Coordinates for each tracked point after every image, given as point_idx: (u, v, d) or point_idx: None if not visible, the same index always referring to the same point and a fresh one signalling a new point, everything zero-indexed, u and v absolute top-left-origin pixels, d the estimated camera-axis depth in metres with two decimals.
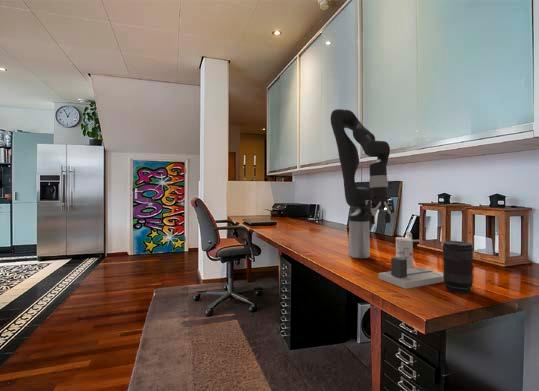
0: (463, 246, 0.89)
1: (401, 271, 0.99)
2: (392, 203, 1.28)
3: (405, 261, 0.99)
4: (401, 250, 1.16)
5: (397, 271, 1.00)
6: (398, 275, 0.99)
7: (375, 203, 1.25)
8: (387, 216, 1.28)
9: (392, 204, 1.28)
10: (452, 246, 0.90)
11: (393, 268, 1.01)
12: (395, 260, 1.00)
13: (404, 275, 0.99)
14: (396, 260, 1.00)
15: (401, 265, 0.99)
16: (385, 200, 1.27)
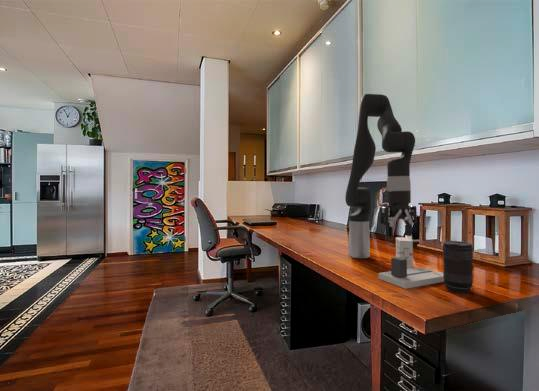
0: (463, 246, 0.89)
1: (401, 271, 0.99)
2: (415, 211, 1.02)
3: (405, 261, 0.99)
4: (401, 250, 1.16)
5: (397, 271, 1.00)
6: (398, 275, 0.99)
7: (394, 211, 0.98)
8: (408, 227, 1.02)
9: (415, 212, 1.02)
10: (452, 246, 0.90)
11: (393, 268, 1.01)
12: (395, 260, 1.00)
13: (404, 275, 0.99)
14: (396, 260, 1.00)
15: (401, 265, 0.99)
16: (406, 207, 1.00)
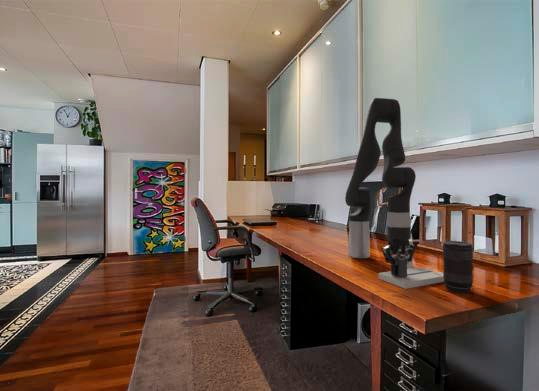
0: (463, 246, 0.89)
1: (401, 271, 0.99)
2: (413, 250, 1.02)
3: (405, 261, 0.99)
4: None
5: None
6: (398, 275, 0.99)
7: (395, 249, 0.99)
8: None
9: (412, 251, 1.02)
10: (452, 246, 0.90)
11: None
12: None
13: (404, 275, 0.99)
14: None
15: (401, 265, 0.99)
16: (407, 242, 1.01)
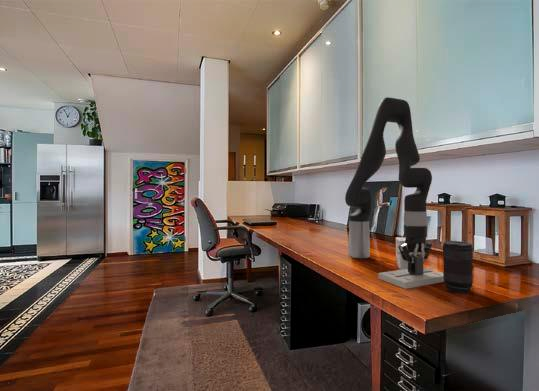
0: (463, 246, 0.89)
1: (417, 269, 1.01)
2: (429, 248, 1.04)
3: (421, 258, 1.02)
4: None
5: None
6: (415, 272, 1.02)
7: (411, 247, 1.02)
8: None
9: (429, 249, 1.04)
10: (452, 246, 0.90)
11: None
12: None
13: (421, 272, 1.02)
14: None
15: (417, 262, 1.01)
16: (423, 240, 1.04)
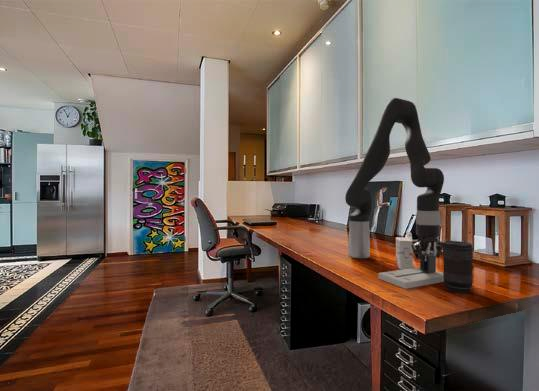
0: (463, 246, 0.89)
1: (430, 267, 1.04)
2: (441, 246, 1.07)
3: (434, 257, 1.04)
4: (401, 250, 1.16)
5: None
6: (427, 270, 1.04)
7: (424, 246, 1.04)
8: None
9: (440, 248, 1.07)
10: (452, 246, 0.90)
11: None
12: None
13: (433, 270, 1.04)
14: None
15: (430, 260, 1.04)
16: (435, 239, 1.06)
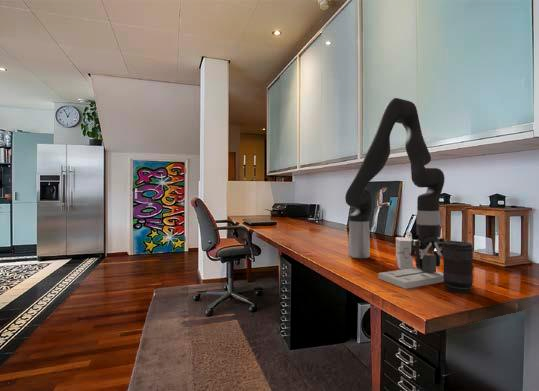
0: (463, 246, 0.89)
1: (430, 267, 1.04)
2: None
3: (434, 257, 1.04)
4: (401, 250, 1.16)
5: (427, 267, 1.05)
6: (428, 270, 1.04)
7: (424, 244, 1.04)
8: (436, 258, 1.07)
9: None
10: (452, 246, 0.90)
11: (423, 263, 1.06)
12: (425, 256, 1.05)
13: (434, 270, 1.04)
14: (426, 256, 1.05)
15: (430, 260, 1.04)
16: (435, 239, 1.06)
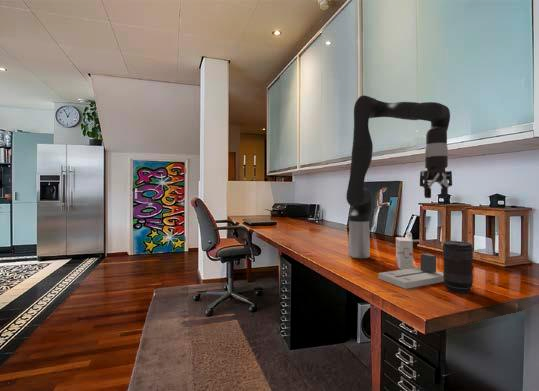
0: (463, 246, 0.89)
1: (430, 267, 1.04)
2: (450, 175, 1.14)
3: (434, 257, 1.04)
4: (401, 250, 1.16)
5: (427, 267, 1.05)
6: (428, 270, 1.04)
7: (432, 174, 1.11)
8: (444, 190, 1.14)
9: (450, 176, 1.14)
10: (452, 246, 0.90)
11: (423, 263, 1.06)
12: (425, 256, 1.05)
13: (434, 270, 1.04)
14: (426, 256, 1.05)
15: (430, 260, 1.04)
16: (443, 171, 1.13)
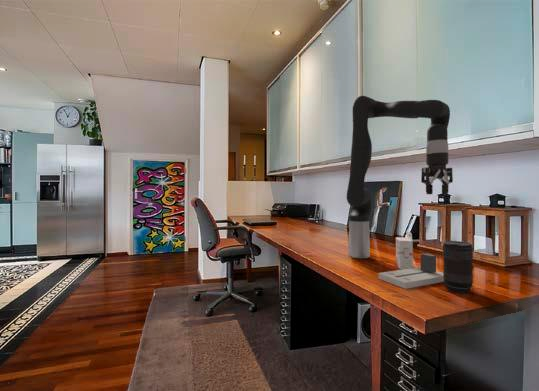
0: (463, 246, 0.89)
1: (430, 267, 1.04)
2: (451, 172, 1.15)
3: (434, 257, 1.04)
4: (401, 250, 1.16)
5: (427, 267, 1.05)
6: (428, 270, 1.04)
7: (434, 171, 1.12)
8: (445, 186, 1.15)
9: (451, 173, 1.15)
10: (452, 246, 0.90)
11: (423, 263, 1.06)
12: (425, 256, 1.05)
13: (434, 270, 1.04)
14: (426, 256, 1.05)
15: (430, 260, 1.04)
16: (444, 168, 1.14)
